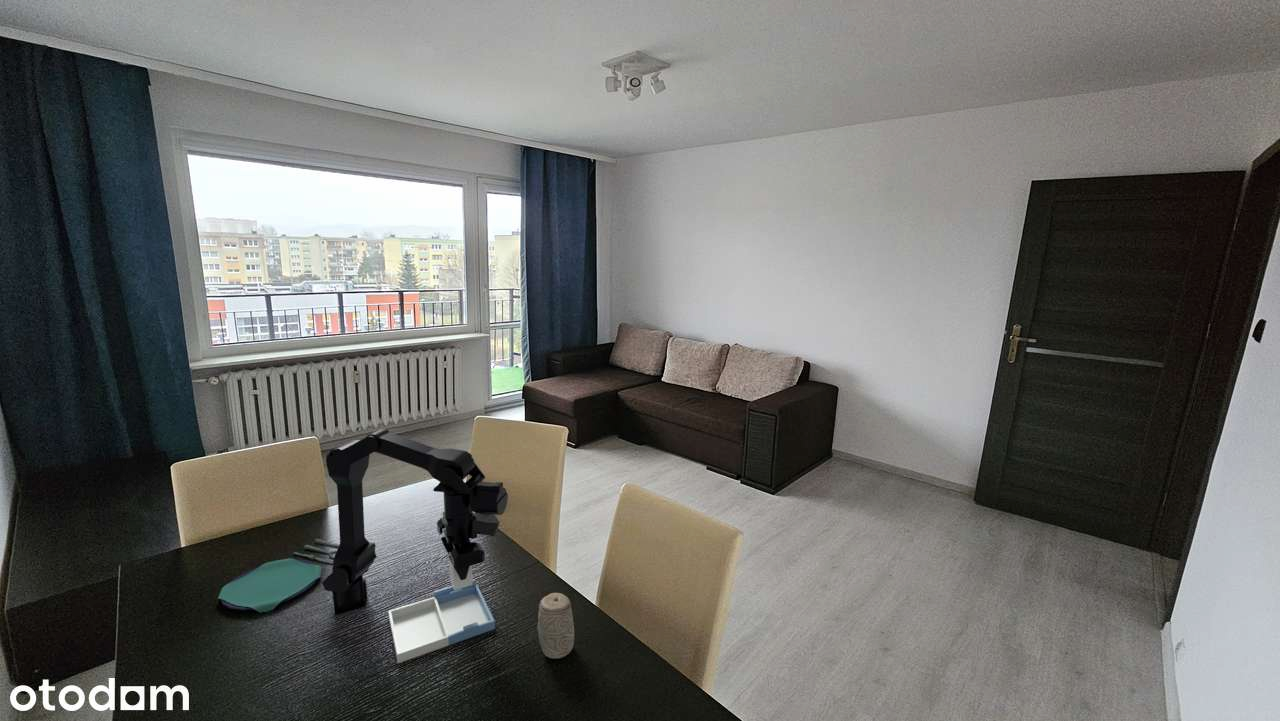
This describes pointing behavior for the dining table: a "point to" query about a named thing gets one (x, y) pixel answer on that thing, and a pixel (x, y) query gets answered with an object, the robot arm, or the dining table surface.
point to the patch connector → (456, 580)
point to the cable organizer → (439, 621)
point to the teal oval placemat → (274, 582)
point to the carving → (555, 625)
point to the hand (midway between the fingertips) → (461, 574)
